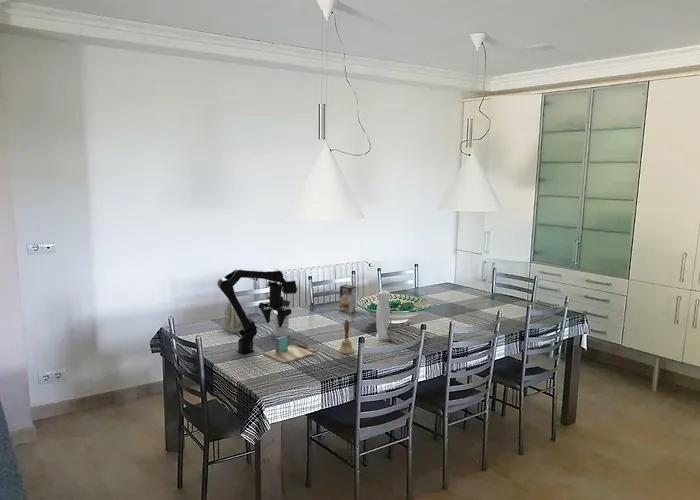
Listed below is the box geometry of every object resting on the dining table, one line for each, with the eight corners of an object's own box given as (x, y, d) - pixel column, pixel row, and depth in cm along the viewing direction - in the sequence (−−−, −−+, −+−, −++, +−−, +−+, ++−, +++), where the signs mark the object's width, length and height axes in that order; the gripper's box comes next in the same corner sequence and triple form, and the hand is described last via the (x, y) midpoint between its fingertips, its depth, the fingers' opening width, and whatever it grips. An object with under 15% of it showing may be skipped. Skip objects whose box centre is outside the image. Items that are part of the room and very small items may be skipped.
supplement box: (272, 332, 292) (272, 310, 290) (285, 331, 294) (285, 309, 292) (275, 336, 285) (275, 313, 283) (288, 335, 288) (289, 313, 286)
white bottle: (377, 341, 284) (379, 290, 279) (372, 337, 292) (374, 287, 287) (391, 341, 286) (394, 290, 282) (386, 336, 294) (389, 286, 289)
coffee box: (338, 310, 342) (339, 285, 339) (343, 308, 347) (344, 284, 344) (350, 312, 337) (351, 288, 334) (355, 310, 342) (356, 286, 340)
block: (278, 353, 258) (278, 339, 257) (275, 352, 260) (275, 338, 259) (287, 350, 262) (288, 336, 261) (285, 349, 264) (285, 335, 263)
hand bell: (340, 354, 262) (341, 323, 260) (336, 348, 270) (337, 318, 267) (356, 353, 264) (357, 322, 262) (351, 347, 272) (353, 317, 270)
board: (284, 363, 247) (284, 361, 247) (263, 354, 258) (263, 352, 258) (313, 354, 260) (313, 353, 260) (291, 346, 271) (291, 344, 271)
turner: (312, 352, 263) (312, 350, 263) (296, 345, 272) (296, 344, 272) (317, 350, 266) (317, 349, 266) (300, 344, 274) (300, 342, 274)
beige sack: (232, 334, 287) (233, 306, 286) (218, 327, 299) (219, 301, 298) (257, 330, 297) (258, 304, 296) (243, 324, 309) (244, 299, 308)
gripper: (300, 296, 263) (298, 326, 266) (275, 289, 275) (274, 318, 278) (283, 299, 255) (281, 330, 257) (258, 291, 267) (257, 322, 269)
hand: (274, 325), depth 266 cm, fingers open, 9 cm apart
